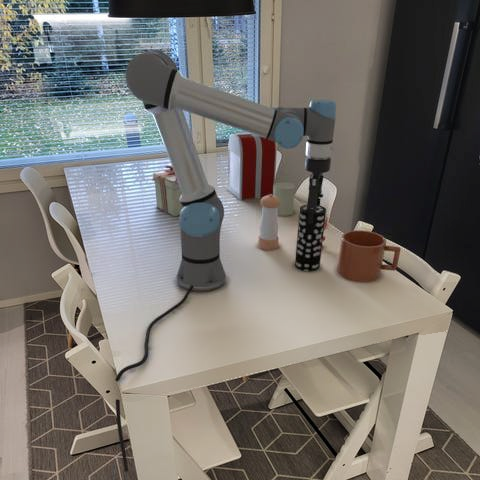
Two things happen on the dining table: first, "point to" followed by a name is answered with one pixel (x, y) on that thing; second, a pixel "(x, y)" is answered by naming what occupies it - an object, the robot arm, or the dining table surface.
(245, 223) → the dining table surface
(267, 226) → the pepper shaker
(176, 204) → the gift box
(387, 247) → the terracotta coffee mug
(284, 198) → the can
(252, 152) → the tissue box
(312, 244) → the white-spotted black cylinder
